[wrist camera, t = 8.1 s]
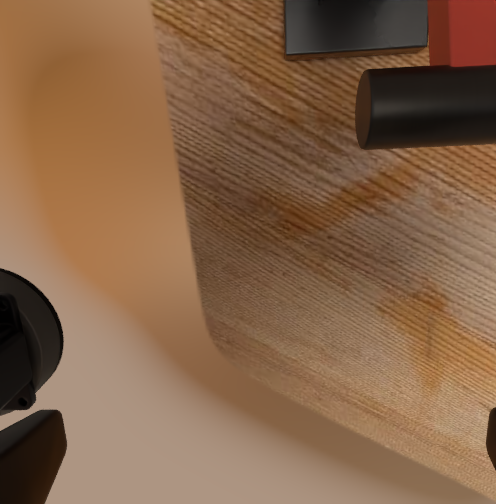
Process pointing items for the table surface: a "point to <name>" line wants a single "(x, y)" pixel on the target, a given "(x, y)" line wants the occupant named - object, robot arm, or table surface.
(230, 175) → the table surface
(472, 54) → the lever
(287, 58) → the bracket
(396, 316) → the table surface
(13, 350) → the robot arm
